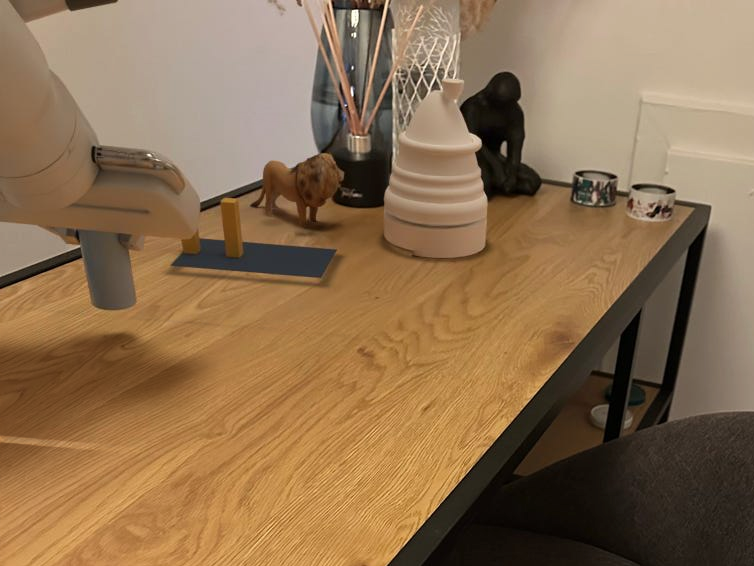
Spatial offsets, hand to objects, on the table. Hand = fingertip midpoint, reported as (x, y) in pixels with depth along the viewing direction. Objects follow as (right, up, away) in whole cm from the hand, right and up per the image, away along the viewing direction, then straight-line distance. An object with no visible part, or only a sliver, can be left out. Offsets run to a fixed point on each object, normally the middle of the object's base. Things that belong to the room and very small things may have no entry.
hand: (106, 240), depth 84 cm
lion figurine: (+10, +18, +37) cm, 42 cm away
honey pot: (+28, +14, +34) cm, 47 cm away
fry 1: (0, +9, +24) cm, 26 cm away
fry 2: (+5, +9, +24) cm, 26 cm away
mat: (+8, +8, +25) cm, 27 cm away
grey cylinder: (0, -5, +3) cm, 5 cm away
